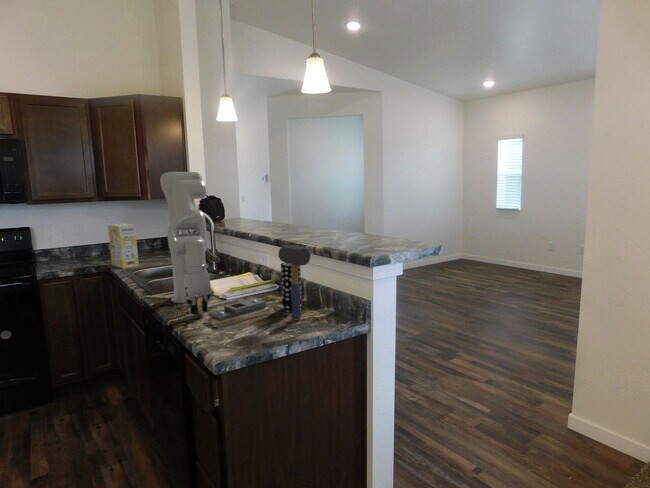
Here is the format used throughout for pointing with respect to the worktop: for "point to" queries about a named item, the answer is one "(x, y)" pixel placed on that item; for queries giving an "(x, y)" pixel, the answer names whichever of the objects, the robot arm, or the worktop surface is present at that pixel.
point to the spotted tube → (288, 286)
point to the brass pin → (199, 307)
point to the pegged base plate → (238, 309)
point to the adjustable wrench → (220, 303)
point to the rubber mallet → (295, 272)
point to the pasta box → (123, 245)
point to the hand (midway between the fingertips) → (199, 312)
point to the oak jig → (236, 318)
